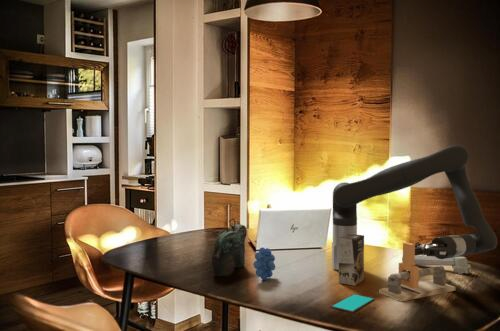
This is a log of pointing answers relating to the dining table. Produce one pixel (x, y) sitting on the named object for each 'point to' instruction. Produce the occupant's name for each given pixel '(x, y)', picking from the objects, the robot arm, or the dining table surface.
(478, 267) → the dining table surface
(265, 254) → the grapes
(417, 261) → the toothbrush head
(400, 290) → the pipe stand
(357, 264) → the coffee box
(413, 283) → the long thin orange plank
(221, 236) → the dark green backpack
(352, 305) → the smartphone
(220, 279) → the dining table surface
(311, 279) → the dining table surface
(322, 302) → the dining table surface
